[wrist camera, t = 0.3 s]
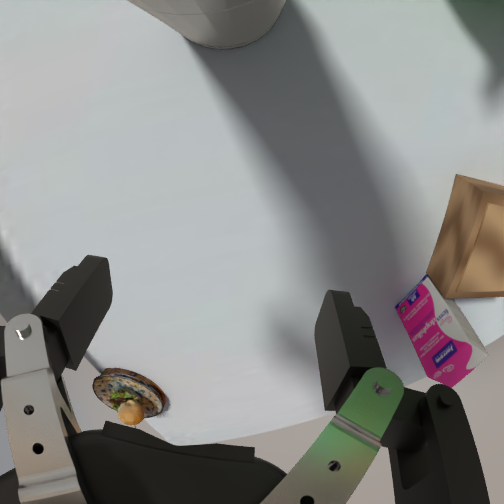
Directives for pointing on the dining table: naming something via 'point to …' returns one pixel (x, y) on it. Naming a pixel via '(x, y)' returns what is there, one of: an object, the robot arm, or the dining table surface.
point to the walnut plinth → (471, 242)
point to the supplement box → (440, 334)
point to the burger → (129, 395)
